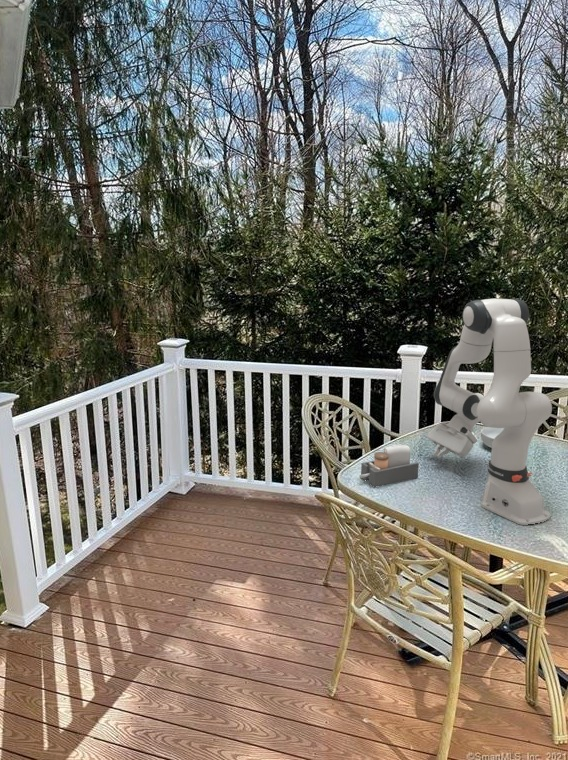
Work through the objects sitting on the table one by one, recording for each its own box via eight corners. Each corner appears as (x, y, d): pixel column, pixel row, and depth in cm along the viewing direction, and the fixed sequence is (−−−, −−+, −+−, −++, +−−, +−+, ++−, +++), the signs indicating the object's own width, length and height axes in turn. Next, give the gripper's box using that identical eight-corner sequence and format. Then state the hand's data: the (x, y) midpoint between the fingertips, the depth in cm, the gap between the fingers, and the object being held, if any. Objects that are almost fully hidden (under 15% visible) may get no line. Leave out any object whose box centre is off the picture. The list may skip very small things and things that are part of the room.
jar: (390, 480, 200) (391, 455, 197) (379, 483, 198) (379, 458, 195) (382, 475, 204) (382, 451, 202) (370, 478, 202) (371, 453, 199)
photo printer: (385, 479, 201) (386, 448, 198) (381, 474, 205) (382, 444, 202) (410, 476, 203) (412, 446, 200) (406, 471, 207) (408, 442, 204)
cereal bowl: (471, 444, 235) (472, 429, 233) (499, 438, 241) (500, 423, 240) (501, 458, 220) (502, 442, 218) (530, 451, 227) (532, 436, 225)
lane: (417, 477, 202) (418, 463, 201) (374, 487, 195) (374, 472, 193) (403, 468, 210) (404, 454, 209) (360, 477, 202) (361, 463, 201)
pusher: (379, 483, 197) (380, 468, 195) (364, 487, 194) (365, 472, 193) (370, 476, 203) (370, 462, 201) (355, 480, 200) (356, 465, 198)
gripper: (436, 416, 219) (415, 442, 217) (472, 433, 201) (450, 461, 199) (444, 425, 222) (423, 451, 220) (480, 442, 204) (458, 470, 202)
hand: (436, 456), depth 210 cm, fingers closed
